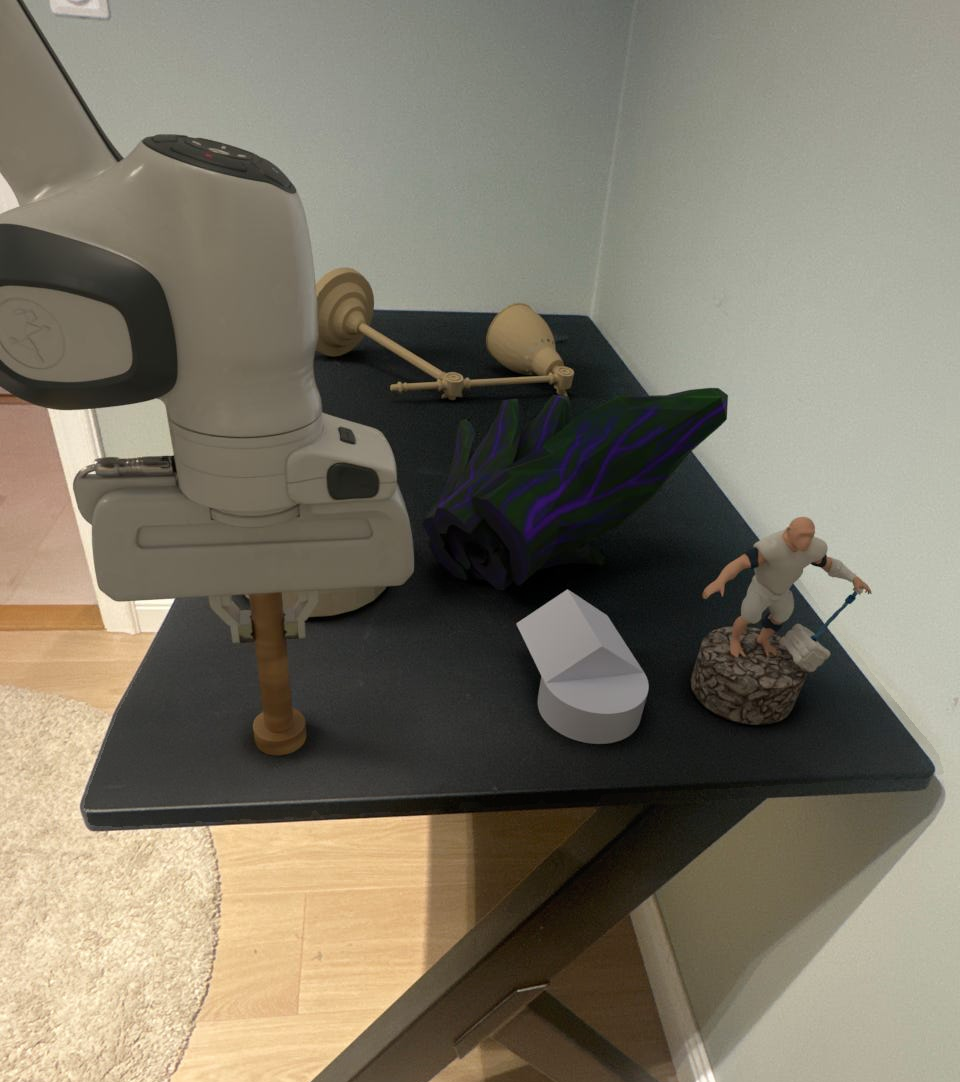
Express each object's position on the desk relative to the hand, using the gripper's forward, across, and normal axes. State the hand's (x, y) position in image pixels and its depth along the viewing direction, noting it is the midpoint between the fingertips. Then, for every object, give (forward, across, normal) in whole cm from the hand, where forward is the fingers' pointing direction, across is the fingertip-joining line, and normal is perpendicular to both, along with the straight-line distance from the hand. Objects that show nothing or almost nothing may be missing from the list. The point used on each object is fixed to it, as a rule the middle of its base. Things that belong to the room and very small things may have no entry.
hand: (270, 636), depth 56 cm
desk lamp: (+10, +30, +86) cm, 92 cm away
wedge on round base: (+10, +26, +2) cm, 28 cm away
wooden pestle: (+10, 0, 0) cm, 10 cm away
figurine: (+10, +41, 0) cm, 42 cm away
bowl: (+10, +4, +23) cm, 25 cm away
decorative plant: (+10, +29, +26) cm, 40 cm away
